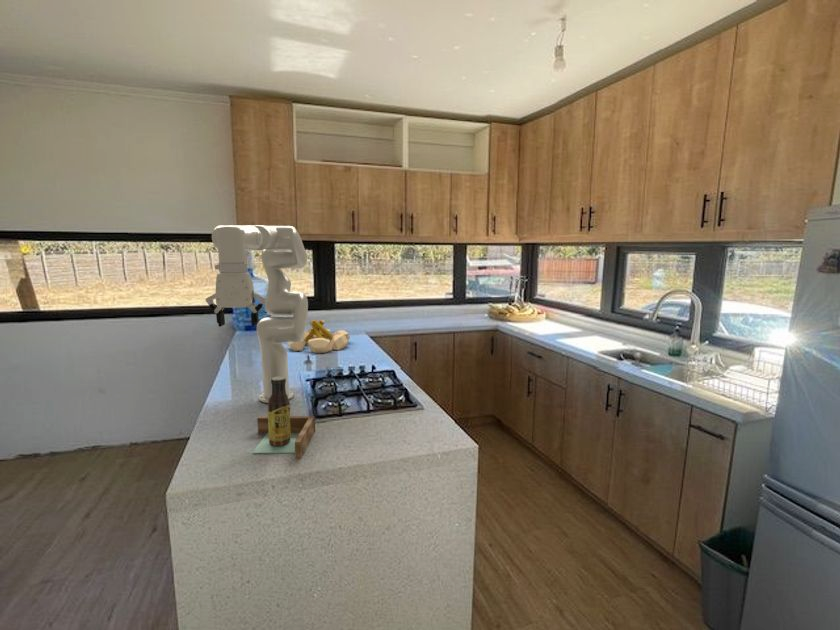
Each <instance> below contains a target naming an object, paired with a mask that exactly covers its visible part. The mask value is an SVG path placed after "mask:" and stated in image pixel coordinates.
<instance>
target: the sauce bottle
mask: <svg viewBox="0 0 840 630" xmlns="http://www.w3.org/2000/svg"><path fill="white" fill-rule="evenodd" d="M285 383H286V378H285V377H281V376H279V377H273V378H272V379H271V384H272V395H271V396H270V398H269V401H268V403H267V406H268V408H267V416H268V432H269V433H268V434H269V443H270V445H272V446H282V445H286V444H287V443H288V442H290V436H291V434H292V433H291V428H290V416H291V403H290V400H289V399H288V396H287V394H286V390H285Z"/></svg>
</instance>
